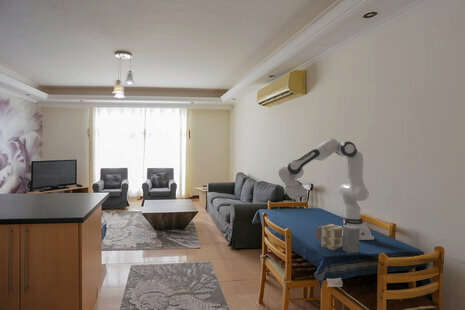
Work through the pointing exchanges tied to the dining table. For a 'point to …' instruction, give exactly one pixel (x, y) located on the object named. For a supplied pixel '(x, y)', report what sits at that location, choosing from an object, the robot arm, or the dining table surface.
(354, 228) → the skincare box
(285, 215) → the dining table surface
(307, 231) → the dining table surface
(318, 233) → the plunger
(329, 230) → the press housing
